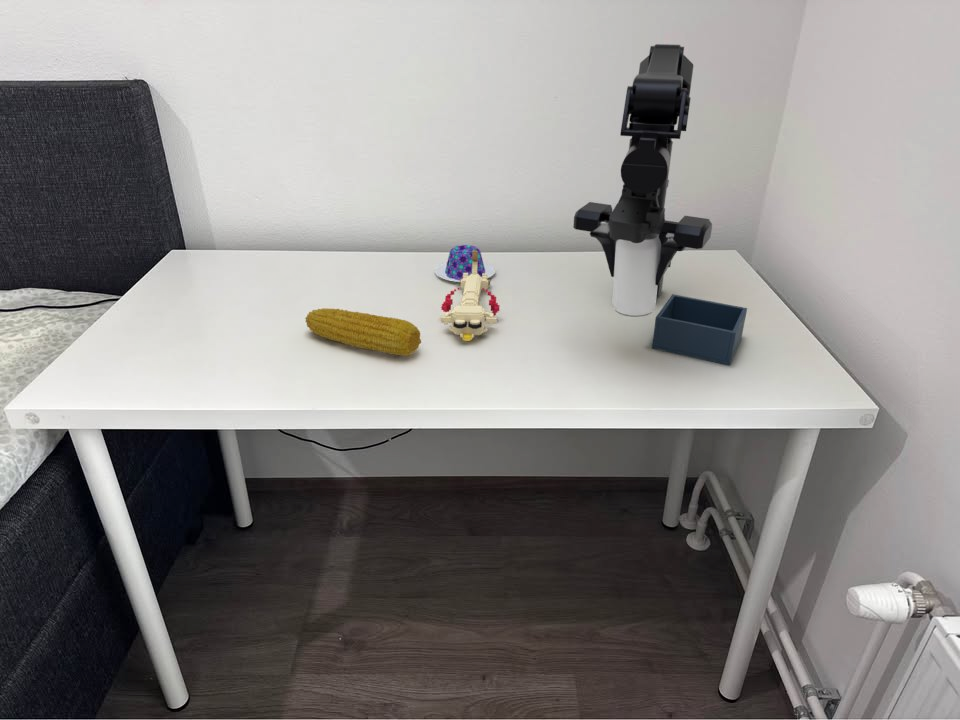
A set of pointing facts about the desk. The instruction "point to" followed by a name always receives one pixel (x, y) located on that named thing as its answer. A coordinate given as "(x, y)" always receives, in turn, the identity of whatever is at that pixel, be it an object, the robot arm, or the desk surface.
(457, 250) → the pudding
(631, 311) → the can
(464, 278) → the cream brick animal figure
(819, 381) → the desk surface
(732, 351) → the bin
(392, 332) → the food
